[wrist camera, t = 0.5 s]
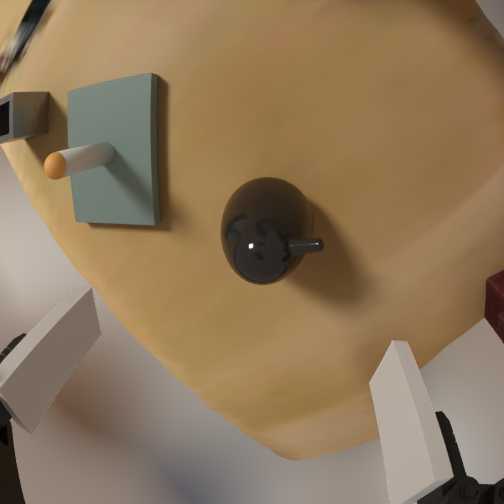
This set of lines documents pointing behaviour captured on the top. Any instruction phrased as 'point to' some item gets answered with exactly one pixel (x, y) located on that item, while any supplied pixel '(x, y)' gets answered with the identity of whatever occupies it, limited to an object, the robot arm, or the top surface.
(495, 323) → the toy vending machine
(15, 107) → the grey square sleeve
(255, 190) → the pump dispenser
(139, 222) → the keeper
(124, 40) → the top surface
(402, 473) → the robot arm
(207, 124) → the top surface
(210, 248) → the top surface
